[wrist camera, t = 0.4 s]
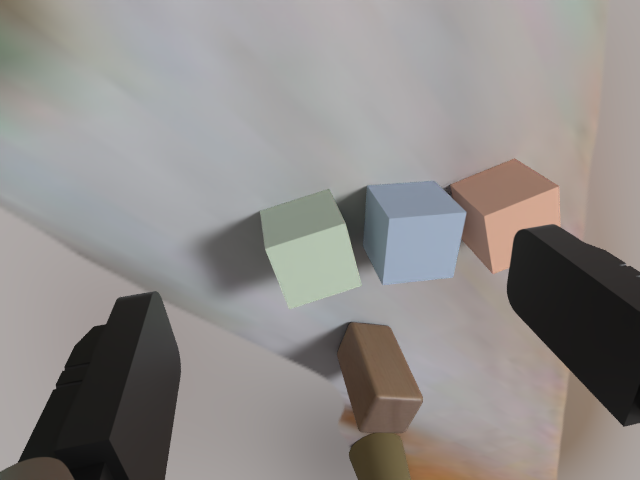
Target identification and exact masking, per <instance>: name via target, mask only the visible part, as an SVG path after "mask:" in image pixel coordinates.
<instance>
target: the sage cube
mask: <svg viewBox="0 0 640 480" xmlns="http://www.w3.org/2000/svg"><path fill="white" fill-rule="evenodd" d="M260 215H261V223H262V230H263V238H264V245H265V250H266V253H267V255H268V258H269V260H270V263H271V265H272V268H273V270H274V273H275V275H276V278H277V280H278V282H279V285H280V287H281V290H282V292H283V295H284V297H285V300H286V302H287V305H288V307H289V309H292V308H295V307H298V306H301V305H304V304H307V303H311V302H314V301H317V300H320V299H323V298H326V297H329V296H332V295H335V294H338V293H341V292H344V291H348V290H351V289H354V288H357V287H360V286H362V284H361V280H360V277H359V273H358V269H357V265H356V261H355V257H354V254H353V250H352V246H351V242H350V238H349V235H348V231H347V227H346V223H345V221H344V219H343V217H342V215H341V213H340V211H339V208H338V206H337V204H336V202H335V200H334V198H333V196H332V194H331V192H330V190H329V189H327V190H324V191H321V192H318V193H315V194H312V195H308V196H305V197H302V198H299V199H296V200H293V201H290V202H286V203H283V204H280V205H277V206H274V207H271V208H268V209H265V210H261V211H260Z"/></svg>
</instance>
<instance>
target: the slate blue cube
mask: <svg viewBox="0 0 640 480" xmlns="http://www.w3.org/2000/svg"><path fill="white" fill-rule="evenodd" d="M466 213H467V212H466V211H465V210H464V209H463V208H462V207H461V206H460V205H459V204H458V203H457V202H456V201H455V200H454V199H453V198H452V197H451V196H450V195H449V194H447V193H446V192H445V191H444V190H443V189H442V188H441V187H440V186H439V185H438V184H437V183H436V182H435V181H425V182H411V183H396V184H382V185H368V186H367V194H366V209H365V223H364V238H363V247H364V249H365V251H366V253H367V255H368V257H369V259H370V261H371V263H372V265H373V267H374V269H375V271H376V273H377V275H378V277H379V279H380V281H381V283H382V285H388V284H397V283H406V282H415V281H425V280H434V279H443V278H452V277H453V275H454V270H455V266H456V261H457V256H458V251H459V247H460V242H461V237H462V232H463V227H464V223H465V218H466Z"/></svg>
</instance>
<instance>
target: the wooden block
mask: <svg viewBox="0 0 640 480" xmlns="http://www.w3.org/2000/svg"><path fill="white" fill-rule="evenodd" d="M337 357H338V360H339V364H340V367H341V371H342V374H343V378H344V381H345V385H346V388H347V392H348V395H349V399H350V402H351V406H352V409H353V413H354V416H355V420H356V423H357V427H358V429H359V431H361V432H369V433H403V432H405V431H406V430H407V428H408V427H409V425H410V423H411V422H412V420H413V418H414V416H415V415H416V413H417V411H418V410H419V408H420V406H421V404H422V403H423V396H422V394H421V392H420V390H419V388H418V386H417V383H416V381H415V379H414V377H413V375H412V373H411V371H410V368H409V366H408V364H407V362H406V360H405V358H404V355H403V353H402V351H401V349H400V347H399V345H398V342H397V340H396V338H395V336H394V334H393V332H392V330H391V328H390V327H389V326H384V325H375V324H366V323H357V322H352V323H350V324H349V325H348V328H347V330H346V333H345V335H344V338H343V340H342V342H341V345H340V347H339V350H338V352H337Z"/></svg>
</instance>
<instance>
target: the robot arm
mask: <svg viewBox="0 0 640 480" xmlns="http://www.w3.org/2000/svg"><path fill="white" fill-rule="evenodd" d="M507 295H508V299H509V302H510V304H511V306H512V308H513V310H514V311H515V312H516V314H517V315H518V316H519V317H520V318H521V319H522V320H523V321H524V322H525V323H526V324H527V325H528V326H529V327H530V328H531V329H532V330H533V332H534V333H535V334H536V335H537V336H538V337H539V338H540V339H541V340H542V341H543V342H544V343H545V344H546V345H547V346H548V347H549V348H550V349H551V351H552V352H553V353H554V354H555V355H556V356H557V357H558V358H559V359H560V360H561V361H562V362H563V363H564V364H565V365H566V366H567V367H568V368H569V369H570V371H571V372H572V373H573V374H574V375H575V376H576V377H577V378H578V379H579V380H580V381H581V382H582V383H583V384H584V385H585V386H586V387H587V388H588V389H589V391H590V392H591V393H592V394H593V395H594V396H595V397H596V398H597V399H598V400H599V401H600V402H601V403H602V404H603V405H604V406H605V407H606V408H607V409H608V411H609V412H610V413H611V414H612V415H613V416H614V417H615V418H616V419H617V420H618V421H619V422H620V423H621V424H622V425H623V426H628V425H633V424H637V423H640V272H639V271H637V270H636V269H634V268H633V267H631V266H626V263H625V262H623V261H621V260H620V259H618V258H617V257H615V256H613V255H612V254H610V253H609V252H607V251H606V250H603V249H600V248H597V247H595V246H592V245H589V244H586V243H584V242H582V241H581V240H579V239H578V238H576V237H575V236H573V235H572V234H570V233H568V232H567V231H565V230H564V229H562V228H561V227H559V226H557V225H555V224H549V225H543V226H538V227H532V228H526V229H521V230H519V231H518V232H517V233H516V234H515V236H514V240H513V247H512V254H511V260H510V267H509V274H508V281H507ZM180 375H181V363H180V356H179V351H178V346H177V343H176V340H175V337H174V334H173V332H172V328H171V325H170V322H169V319H168V317H167V313H166V310H165V307H164V304H163V301H162V298H161V296H160V294H159V293H158V292H157V291H154V292H148V293H142V294H137V295H131V296H125V297H120V298H118V299H117V300H116V302H115V305H114V307H113V309H112V312H111V314H110V317H109V319H108V321H107V324H105V325H100V326H94V327H93V328H92V329H91V330H90V331H89V332H88V333H87V334H86V335H85V336H84V337H83V338H82V339H81V340H80V341H79V342H78V343H77V344H76V345H75V346H74V349H73V350H72V352H71V355H70V357H69V359H68V361H67V363H66V365H65V371H62V373H61V375H60V377H59V379H58V381H57V383H56V389H55V390H53V392H52V394H51V395H50V398H49V400H48V402H47V404H46V406H45V408H44V410H43V412H42V414H41V416H40V418H39V420H38V422H37V424H36V427H35V428H34V430H33V432H32V434H31V436H30V439H29V441H28V443H27V445H26V447H25V449H24V451H23V453H22V455H21V457H20V459H19V461H18V463H16V464H14V465H12V466H10V467H8V468H6V469H5V470H3V471H1V472H0V480H165V474H166V467H167V461H168V454H169V448H170V441H171V434H172V427H173V422H174V415H175V409H176V402H177V395H178V389H179V382H180Z"/></svg>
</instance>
